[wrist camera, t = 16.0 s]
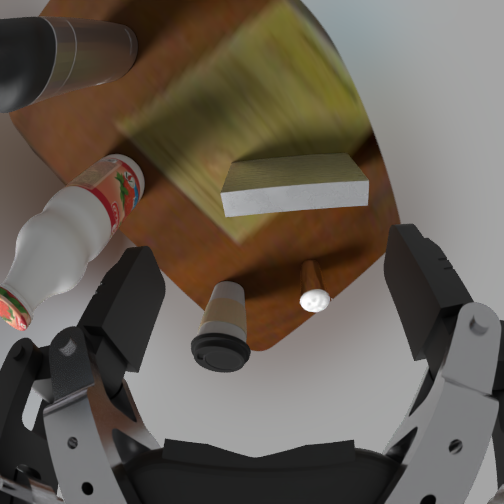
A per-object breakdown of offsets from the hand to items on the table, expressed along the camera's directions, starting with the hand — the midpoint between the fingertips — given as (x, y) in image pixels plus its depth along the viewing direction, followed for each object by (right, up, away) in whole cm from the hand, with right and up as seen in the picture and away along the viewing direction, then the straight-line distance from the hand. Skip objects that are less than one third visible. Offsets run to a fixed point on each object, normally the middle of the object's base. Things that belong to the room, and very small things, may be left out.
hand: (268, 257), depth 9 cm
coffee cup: (-5, -7, +44) cm, 45 cm away
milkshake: (+10, -2, +39) cm, 40 cm away
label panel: (+5, +12, +28) cm, 31 cm away
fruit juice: (-21, +12, +31) cm, 39 cm away
